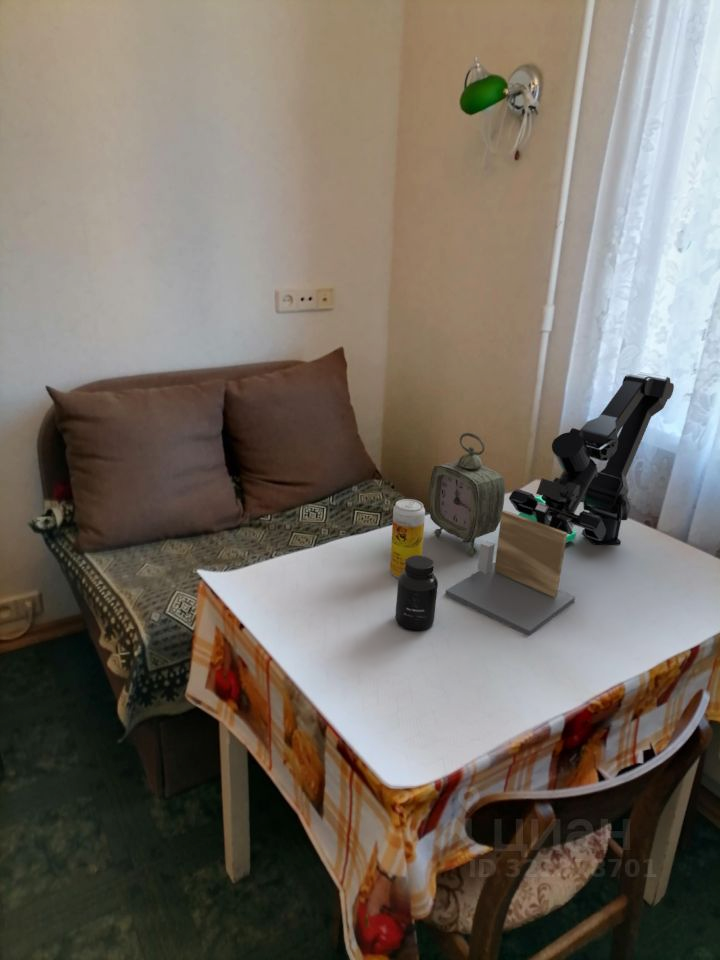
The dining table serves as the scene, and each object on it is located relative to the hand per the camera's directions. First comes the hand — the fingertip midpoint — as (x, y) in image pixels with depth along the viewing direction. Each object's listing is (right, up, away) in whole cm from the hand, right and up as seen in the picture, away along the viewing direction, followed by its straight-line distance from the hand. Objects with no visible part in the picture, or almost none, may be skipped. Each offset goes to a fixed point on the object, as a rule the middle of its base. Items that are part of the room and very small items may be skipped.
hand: (536, 551), depth 128 cm
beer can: (-25, -5, +5) cm, 26 cm away
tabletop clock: (-11, 0, +19) cm, 22 cm away
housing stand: (-6, -9, -2) cm, 11 cm away
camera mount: (+8, +1, +23) cm, 24 cm away
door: (-2, -6, 0) cm, 7 cm away
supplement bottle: (-24, -11, -11) cm, 29 cm away
